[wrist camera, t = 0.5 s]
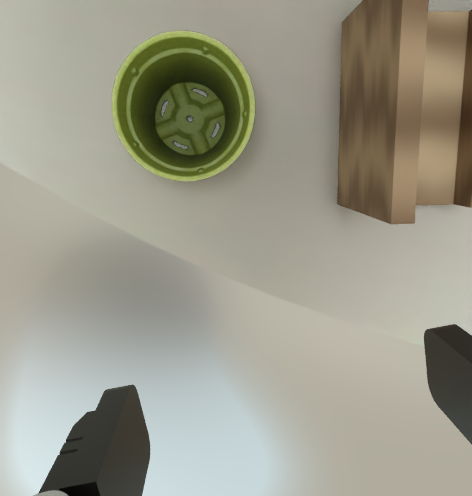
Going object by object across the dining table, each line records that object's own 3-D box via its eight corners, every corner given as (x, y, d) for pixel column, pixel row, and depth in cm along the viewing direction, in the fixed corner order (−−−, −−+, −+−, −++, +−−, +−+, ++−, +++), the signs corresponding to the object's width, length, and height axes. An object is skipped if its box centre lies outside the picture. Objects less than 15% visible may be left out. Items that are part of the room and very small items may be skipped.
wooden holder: (342, 22, 35) (404, -45, 24) (465, 21, 36) (587, -46, 24) (337, 204, 38) (390, 224, 27) (451, 200, 39) (553, 219, 27)
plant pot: (262, 86, 36) (276, 63, 28) (224, 191, 38) (226, 200, 29) (156, 43, 35) (137, 6, 27) (121, 153, 37) (93, 152, 28)
